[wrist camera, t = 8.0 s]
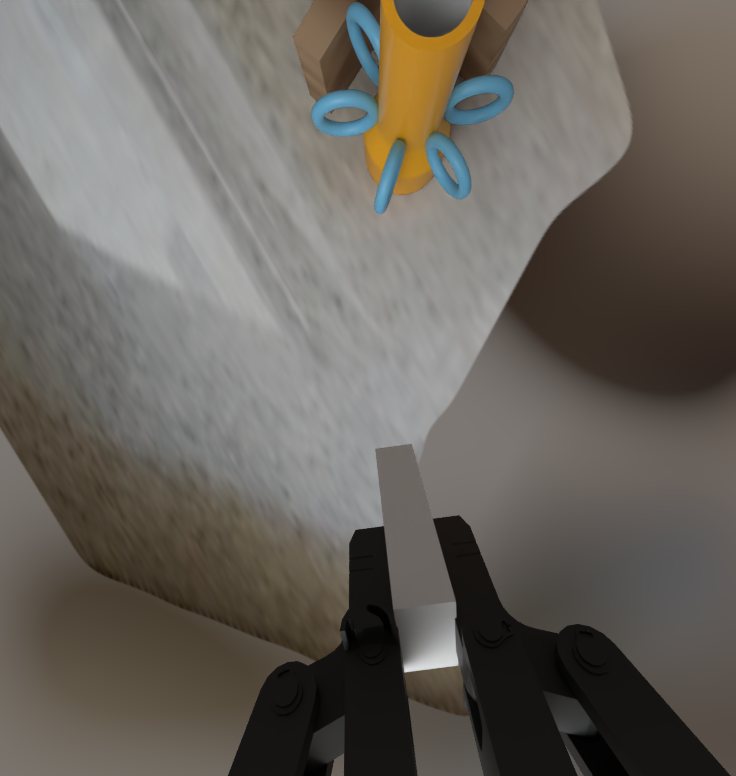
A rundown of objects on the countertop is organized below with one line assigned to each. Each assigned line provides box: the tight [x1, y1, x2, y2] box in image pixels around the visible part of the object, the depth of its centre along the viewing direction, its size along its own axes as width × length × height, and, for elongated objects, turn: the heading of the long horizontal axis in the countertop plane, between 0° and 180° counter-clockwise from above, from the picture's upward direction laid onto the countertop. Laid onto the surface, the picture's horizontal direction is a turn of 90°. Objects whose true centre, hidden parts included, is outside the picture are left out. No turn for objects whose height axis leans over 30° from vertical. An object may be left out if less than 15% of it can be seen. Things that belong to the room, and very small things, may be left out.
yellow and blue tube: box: [311, 0, 514, 214], centre depth 20 cm, size 12×10×15 cm
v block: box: [293, 0, 528, 114], centre depth 23 cm, size 9×14×6 cm, turn 97°
